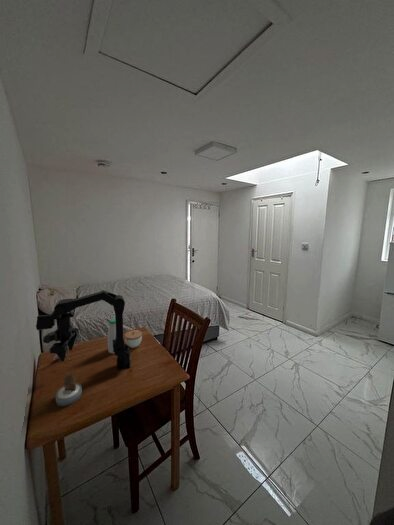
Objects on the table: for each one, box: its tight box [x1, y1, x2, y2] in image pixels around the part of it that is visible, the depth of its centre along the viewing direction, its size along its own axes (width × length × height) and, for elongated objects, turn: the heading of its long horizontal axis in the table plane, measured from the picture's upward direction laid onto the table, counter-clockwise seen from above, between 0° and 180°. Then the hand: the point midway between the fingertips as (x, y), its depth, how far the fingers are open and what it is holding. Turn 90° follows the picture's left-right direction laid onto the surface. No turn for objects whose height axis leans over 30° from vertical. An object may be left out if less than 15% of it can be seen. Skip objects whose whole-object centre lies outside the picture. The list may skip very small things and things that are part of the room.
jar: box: [55, 382, 83, 407], centre depth 94 cm, size 10×10×4 cm
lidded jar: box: [124, 329, 143, 349], centre depth 136 cm, size 11×11×9 cm
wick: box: [63, 374, 77, 391], centre depth 93 cm, size 4×1×7 cm, turn 101°
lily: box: [52, 347, 71, 362], centre depth 120 cm, size 12×12×10 cm
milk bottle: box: [106, 318, 116, 354], centre depth 129 cm, size 8×8×20 cm
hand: (66, 355), depth 104 cm, fingers open, 9 cm apart
